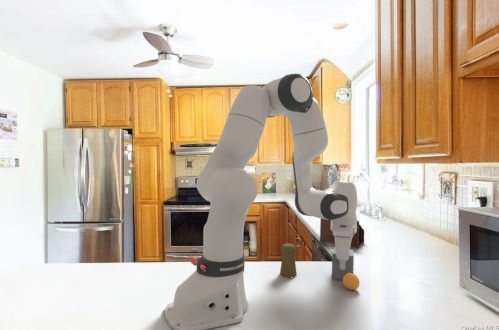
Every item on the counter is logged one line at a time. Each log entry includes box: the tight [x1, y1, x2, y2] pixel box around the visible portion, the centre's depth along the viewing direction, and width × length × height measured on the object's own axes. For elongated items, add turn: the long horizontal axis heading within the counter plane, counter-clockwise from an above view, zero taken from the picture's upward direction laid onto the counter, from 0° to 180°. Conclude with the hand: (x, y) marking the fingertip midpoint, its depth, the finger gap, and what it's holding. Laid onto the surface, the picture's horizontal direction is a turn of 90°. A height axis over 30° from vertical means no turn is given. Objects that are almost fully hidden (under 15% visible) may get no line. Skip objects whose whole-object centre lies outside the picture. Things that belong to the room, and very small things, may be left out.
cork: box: [279, 243, 298, 279], centre depth 98 cm, size 6×6×11 cm
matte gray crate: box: [331, 247, 355, 281], centre depth 97 cm, size 7×7×9 cm
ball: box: [342, 272, 360, 291], centre depth 87 cm, size 5×5×5 cm
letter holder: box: [319, 218, 365, 249], centre depth 140 cm, size 10×20×14 cm, turn 52°
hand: (342, 264), depth 97 cm, fingers closed on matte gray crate, 7 cm apart
